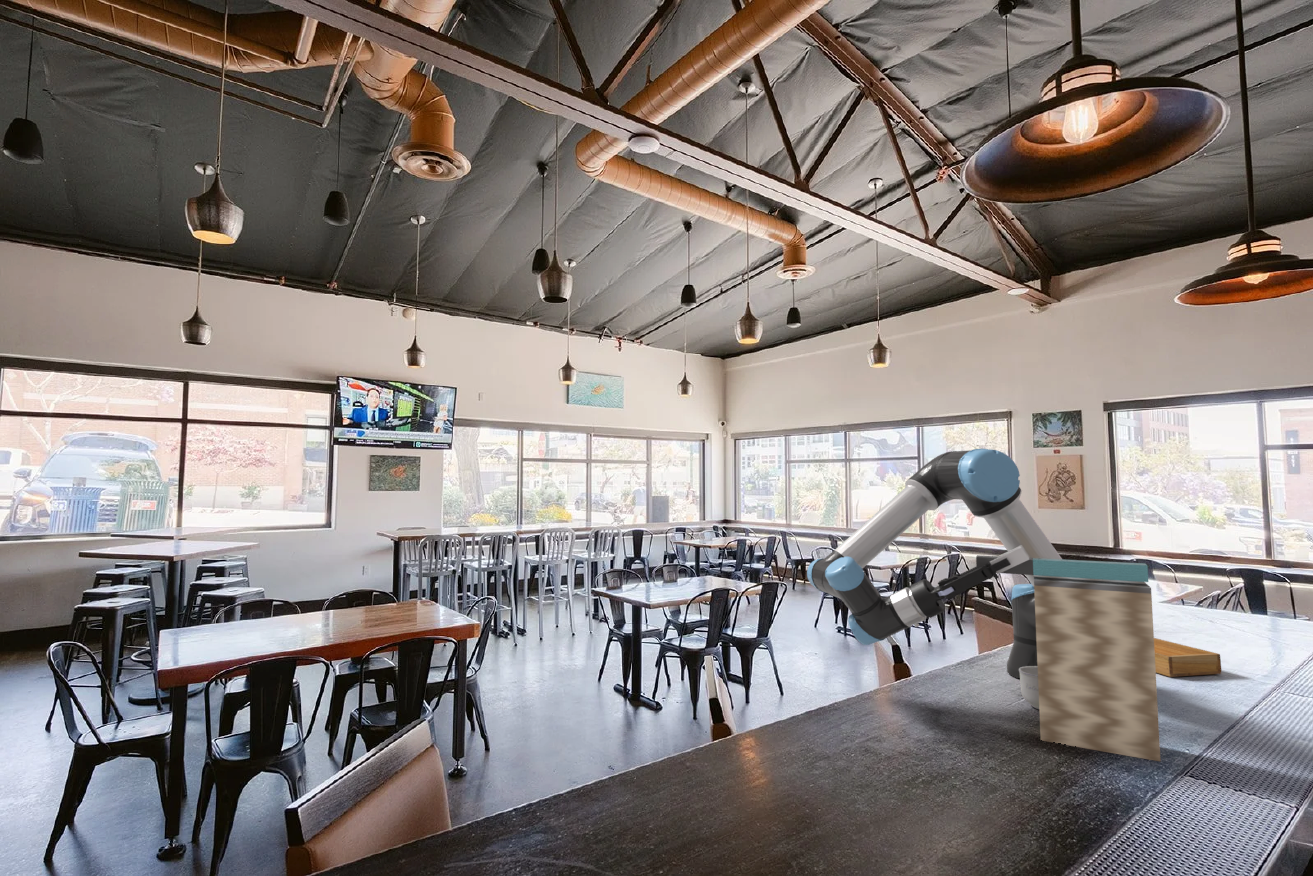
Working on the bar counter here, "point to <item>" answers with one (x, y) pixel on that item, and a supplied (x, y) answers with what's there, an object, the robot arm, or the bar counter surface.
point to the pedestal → (1097, 665)
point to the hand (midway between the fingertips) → (1025, 552)
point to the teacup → (1030, 685)
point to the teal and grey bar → (1075, 569)
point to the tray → (1184, 660)
